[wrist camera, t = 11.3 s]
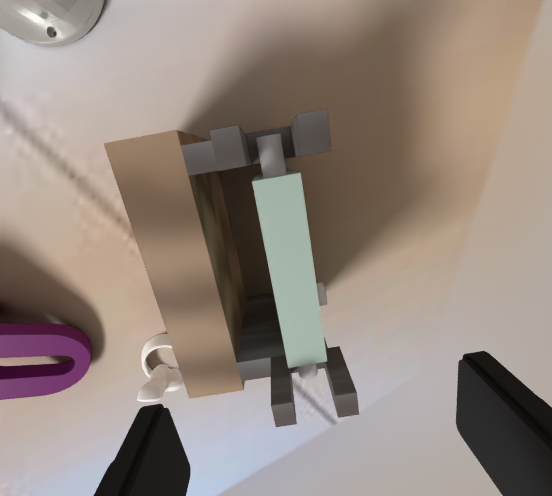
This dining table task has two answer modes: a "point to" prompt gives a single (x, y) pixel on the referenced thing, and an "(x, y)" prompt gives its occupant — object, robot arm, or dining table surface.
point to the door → (290, 258)
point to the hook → (158, 372)
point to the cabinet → (214, 259)
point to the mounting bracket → (41, 342)
